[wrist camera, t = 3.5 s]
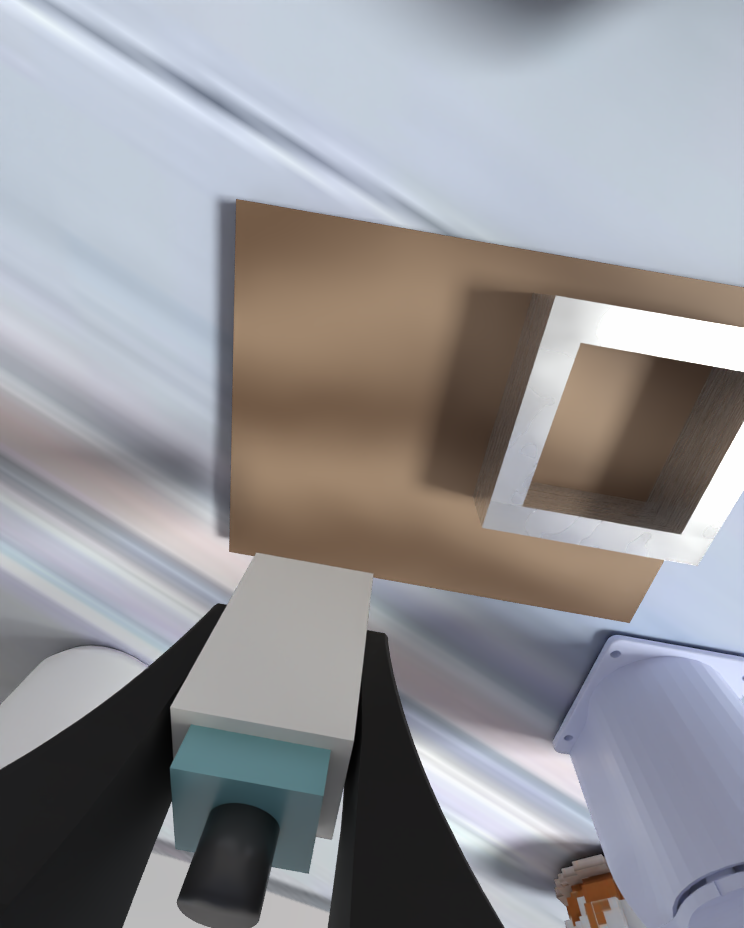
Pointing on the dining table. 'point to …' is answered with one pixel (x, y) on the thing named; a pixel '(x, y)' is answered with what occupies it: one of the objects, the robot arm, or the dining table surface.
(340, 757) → the connector plug
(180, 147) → the dining table surface
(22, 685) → the alcohol
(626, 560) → the board
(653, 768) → the robot arm
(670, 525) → the end holder
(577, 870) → the caramel apple
